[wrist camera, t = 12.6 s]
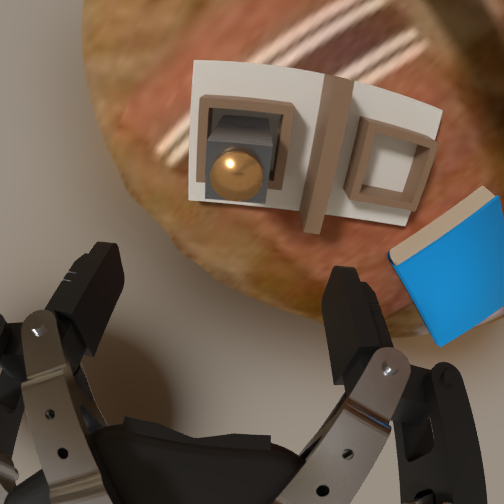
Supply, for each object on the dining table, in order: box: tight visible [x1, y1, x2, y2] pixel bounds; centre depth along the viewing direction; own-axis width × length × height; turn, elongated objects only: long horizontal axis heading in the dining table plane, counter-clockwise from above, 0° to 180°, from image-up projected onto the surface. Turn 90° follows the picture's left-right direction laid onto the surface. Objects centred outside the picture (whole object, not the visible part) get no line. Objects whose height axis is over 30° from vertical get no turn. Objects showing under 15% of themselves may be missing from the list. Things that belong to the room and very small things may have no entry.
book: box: [388, 185, 504, 347], centre depth 35 cm, size 17×4×25 cm
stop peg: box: [205, 115, 273, 204], centre depth 21 cm, size 4×4×10 cm
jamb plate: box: [189, 60, 443, 234], centre depth 25 cm, size 24×14×6 cm, turn 84°
